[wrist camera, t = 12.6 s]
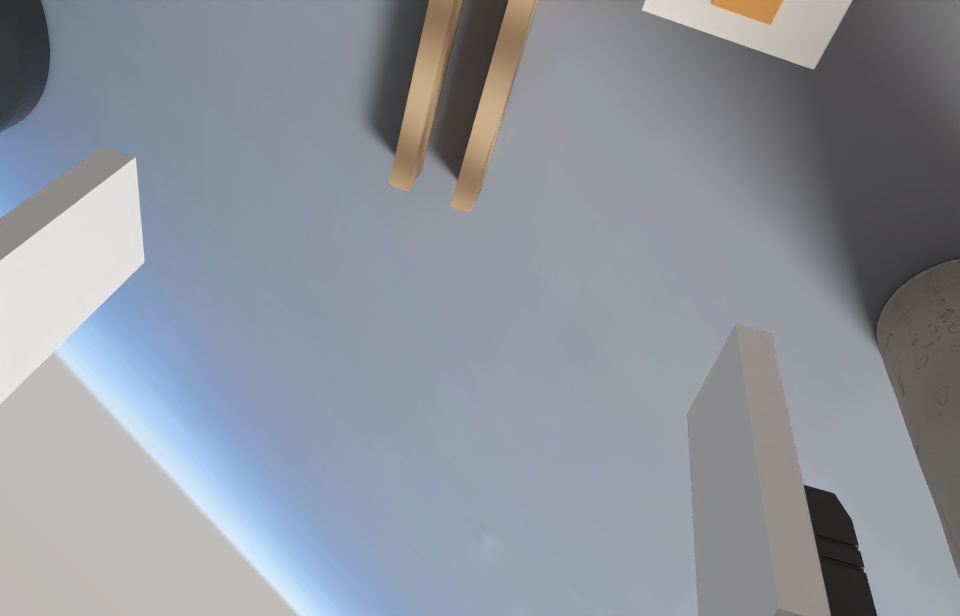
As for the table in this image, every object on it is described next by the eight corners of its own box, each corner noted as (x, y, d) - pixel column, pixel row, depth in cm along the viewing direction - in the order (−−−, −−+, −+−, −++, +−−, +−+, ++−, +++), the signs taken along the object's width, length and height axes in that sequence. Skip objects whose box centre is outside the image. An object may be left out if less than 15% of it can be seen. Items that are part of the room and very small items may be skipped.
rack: (480, 191, 39) (469, 213, 37) (403, 164, 39) (388, 184, 37) (587, -160, 29) (580, -155, 27) (484, -195, 29) (471, -193, 27)
